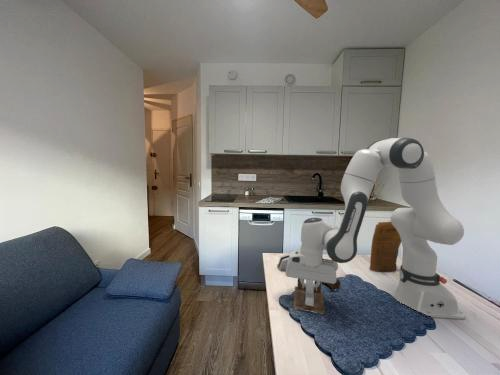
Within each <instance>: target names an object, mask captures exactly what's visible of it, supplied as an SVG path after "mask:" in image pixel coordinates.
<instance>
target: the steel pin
mask: <svg viewBox="0 0 500 375" xmlns="http://www.w3.org/2000/svg"><path fill="white" fill-rule="evenodd" d="M305 283H306V296H305V305H310V306H313V304H314V290H313V285H314V281H312V280H305Z"/></svg>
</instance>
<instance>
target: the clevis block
mask: <svg viewBox="0 0 500 375" xmlns="http://www.w3.org/2000/svg"><path fill="white" fill-rule="evenodd" d="M303 282H304V283H305V279H303ZM316 283H317V281H314V282H313V285H316ZM305 296H306V289H302V284H301V282H300V279H298V278H297V285H296V286H294V295H293V302H292V303H293V305H292V309H293V308H297V309H303V310H309V311H314V312H318V313H323V314H325V315H326V308H325V307H326V306H325V299H324V291H323V290H322V282H320V285H319V286H318V287H317V291H314V304H313V306H310V305H305Z"/></svg>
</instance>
